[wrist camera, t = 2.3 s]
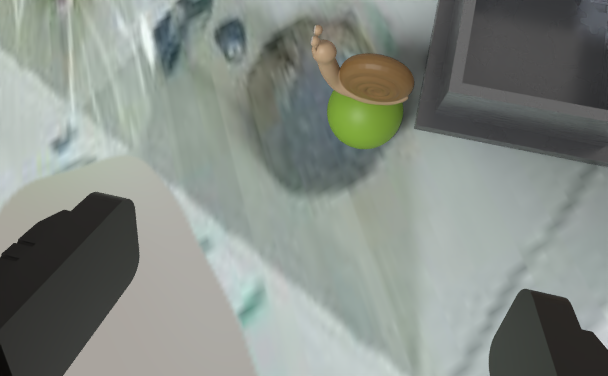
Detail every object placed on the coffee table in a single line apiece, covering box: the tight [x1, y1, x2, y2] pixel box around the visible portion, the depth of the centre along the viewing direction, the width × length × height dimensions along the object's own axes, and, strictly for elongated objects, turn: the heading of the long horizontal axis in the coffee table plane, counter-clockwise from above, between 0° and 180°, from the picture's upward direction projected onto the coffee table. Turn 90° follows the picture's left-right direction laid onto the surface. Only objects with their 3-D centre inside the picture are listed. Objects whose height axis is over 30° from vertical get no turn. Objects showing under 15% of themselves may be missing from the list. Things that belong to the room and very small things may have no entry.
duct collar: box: [414, 0, 608, 167], centre depth 34 cm, size 15×15×5 cm
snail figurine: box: [310, 25, 414, 149], centre depth 30 cm, size 5×6×12 cm
